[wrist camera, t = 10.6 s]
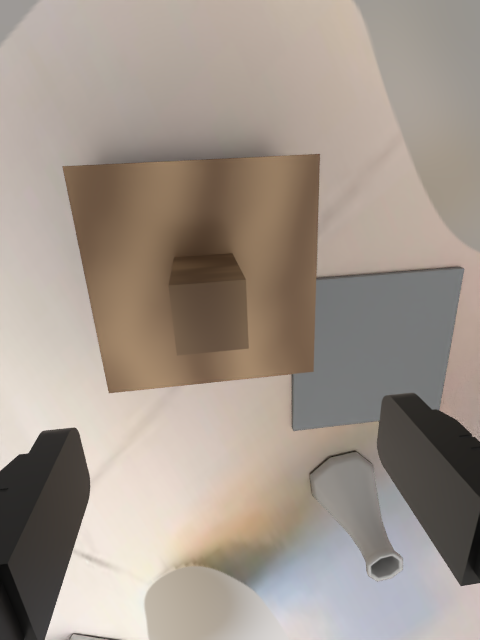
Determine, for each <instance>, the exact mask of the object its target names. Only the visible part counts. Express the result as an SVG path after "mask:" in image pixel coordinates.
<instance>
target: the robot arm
mask: <svg viewBox="0 0 480 640" xmlns="http://www.w3.org/2000/svg"><path fill="white" fill-rule="evenodd" d="M377 449H378V454H379V458H380V460H381V463H382V465H383V467H384V468H385V470H386V471H387V473H388V474H389V476H390V477H391V479H392V481H393V482H394V484H395V485H396V487H397V488H398V490H399V491H400V493H401V494H402V496H403V498H404V499H405V501H406V502H407V504H408V505H409V507H410V508H411V510H412V511H413V513H414V515H415V516H416V518H417V519H418V521H419V522H420V524H421V525H422V527H423V528H424V530H425V532H426V533H427V535H428V536H429V538H430V539H431V541H432V542H433V544H434V545H435V547H436V548H437V550H438V552H439V553H440V555H441V556H442V558H443V559H444V561H445V562H446V564H447V565H448V567H449V569H450V570H451V572H452V573H453V575H454V576H455V578H456V579H457V581H458V582H459V584H460V586H464V585H471V584H477V583H480V442H479V441H478V440H477V439H476V438H475V437H472V434H471V433H470V432H469V431H468V430H467V429H466V428H464V427H463V426H462V425H461V424H460V423H459V422H458V421H457V420H455V419H454V418H452V417H450V416H448V415H446V414H445V413H443V412H441V411H439V410H437V409H434V410H432V409H431V408H430V407H429V406H428V405H427V404H426V403H425V402H424V401H423V400H422V399H421V398H420V397H419V396H418V395H417V394H415V393H404V394H395V395H386V396H384V397H383V399H382V403H381V411H380V420H379V429H378V438H377ZM89 494H90V477H89V472H88V468H87V464H86V459H85V455H84V451H83V447H82V443H81V439H80V435H79V432H78V430H77V429H76V428H66V429H56V430H47V431H42V432H41V433H40V435H39V436H38V438H37V440H36V441H35V443H34V445H33V447H32V448H31V450H30V452H29V454H20V455H18V456H17V457H16V458H15V459H14V460H12V461H11V462H10V463H9V464H8V465H7V466H6V467H4V468H3V469H2V470H1V471H0V640H45V637H46V633H47V630H48V627H49V624H50V621H51V617H52V614H53V611H54V608H55V605H56V602H57V598H58V595H59V592H60V589H61V586H62V583H63V579H64V576H65V573H66V570H67V567H68V564H69V560H70V557H71V554H72V551H73V548H74V545H75V541H76V538H77V535H78V532H79V529H80V526H81V522H82V519H83V516H84V513H85V510H86V507H87V503H88V500H89Z"/></svg>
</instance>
